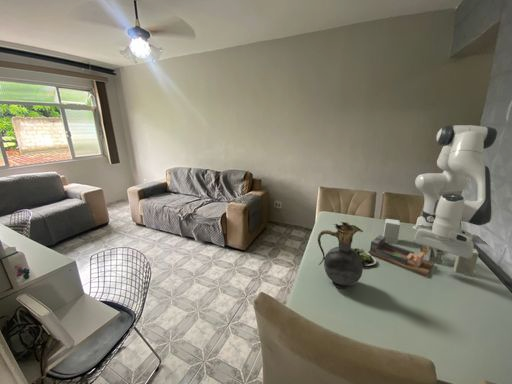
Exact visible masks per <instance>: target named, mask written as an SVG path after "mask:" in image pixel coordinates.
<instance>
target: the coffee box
mask: <svg viewBox="0 0 512 384" xmlns="http://www.w3.org/2000/svg"><path fill="white" fill-rule="evenodd" d="M429 227H433V226H429ZM420 252H423V253H424V257H423V258H425V260H426V261H429V262H432V263H443V260H441V259H438V258H435V257H434V256H435V254H434V252H433V248H431V247H428V246H425V245H421V244H420V251H419V253H420ZM437 253H438V254H441V255H442V254H444V253H443V251H441V250H438V249H437Z"/></svg>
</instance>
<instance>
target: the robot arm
mask: <svg viewBox="0 0 512 384" xmlns="http://www.w3.org/2000/svg"><path fill="white" fill-rule="evenodd" d="M497 138H498V131H497V129H496V128H495V127H489V126H481V125H472V124H468V125H466V124H465V125H464V124H461V125H459V124H458V125H455V124H454V125H452V124H449V125H443V126H442V127H441V128H440V129H439V131H438V132H437V133H436V143H437V144H438V145H440V146H442V148H441V151H440V153H439V155H438V158H437V160H436V164H437V167H438V168H439V169H441V170H443V171H442V172H441V173H440V172H439V173H437V172H435V173H433V172H428V173H427V172H426V173H422V174H421V173H420V174H419V175H417V176H416V178H415V180H414V183H415V187H416V188H417V189H418V190H419V191H420V192H421V193H422V195H423V196H424V198H423V199H424V203H423V208H422V210H421V215H420V216H418V217H417V220H416V223H415V225H412V229H413V230H415V235H414V237H413V238H414V239H413V242H414V243H415V244H419V245H420V246H421V245H425V246H428V247H431V248H433V252H434V254H435V256H434V257H435V258H438V259H441V260H443V259H444V257H445V256H447V255H448V254H451V255H454V256H457V255H458V256H461V257H464V258H468V259H469V258H471V257H472V255H473V250H474V249H475V248H474V241H473V238H474V237H473V236H474V235H473V234H472V233H471V232H469V231H466V230H464V229H463V228H461V222H463V223H468V224H470V225H475V226H478V227H479V226H483V225H487V224H489V223H490V222H491V221H492V219H493V216H494V210H493V206H492V188H491V187H492V184H491V182H492V180H491V172H490V171H491V170H490V168H489V166H487V165H485V164H484V163H483V160H482V157H483V153H484V150H486V149H488V148H490V147H492V146H493V145H494V143H495V142H496V141H497ZM468 179H471V180H473V181H474V182H475V183H476V184H477V200H468V199H465V198H464V196H462V195H460V194H457V193H454V192H461V191H464V190H465V189H466V188H467V187H468V184H469V181H468ZM440 192H447V193H443V194H442V195H440ZM450 192H452V193H450ZM429 226H433V227H429ZM437 249H438V250H441V251H443V253H444V254H442V255H441V254H438V253H437Z"/></svg>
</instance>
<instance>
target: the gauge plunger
mask: <svg viewBox="0 0 512 384" xmlns="http://www.w3.org/2000/svg"><path fill="white" fill-rule="evenodd" d="M424 258H425V257H424V253H423V252H420V251H419V253H418V254H415V253H414V254H412V253H410V254H409V255H408V256H407V257H406V259H408V261H407V263H410V264H412V265H415V266H418V267H419V266H420V265H421V264H422V262H423V260H424Z"/></svg>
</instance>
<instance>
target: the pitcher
mask: <svg viewBox="0 0 512 384" xmlns="http://www.w3.org/2000/svg"><path fill="white" fill-rule="evenodd" d="M340 223H341V224H338V223H335V224H333V225H334V227H335V229H336V230H337V231H335V232H334V231H331V230H329V229H328V230H327V229H326V230H325V229H324V230H321V231H320V232H319V233H318V235H317V244H318V246H319V249H320V251H321V253H322V256H323V257H322V259H321V261H320V262H319V264H318V266H320V265H321V264H322V263H323V267H324V272H325V273H326V276H327V277H328V279H330V280H331V283H332V285H334V286H335V287H336V288H339V289H349V288H350V287H351V286H352V285H354V284H355V283H357V282H358V281H359V280H360V279H361V277H362V275H363V271H364V270H363V269H364V268H363V265H362V260H361V258H360V256H359V255H358V254H357V253H356V252H355V251H353V250H352V249H351V248H352V243H353V237H354V235H355V234H356V233H358V232H359V233H363V232H364V230H363V229H361V228H359V226H357V225H354V224H350V222H347V221H346V222H345V221H340ZM324 235H330V236H332V237H335V238H337V241H338V245H337V246H336V247H333V248H331V249H329V250H328V251H327V253H326V254H325V252H324V249H323V247H322V245H321V244H322V242H321V237H322V236H324Z"/></svg>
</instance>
